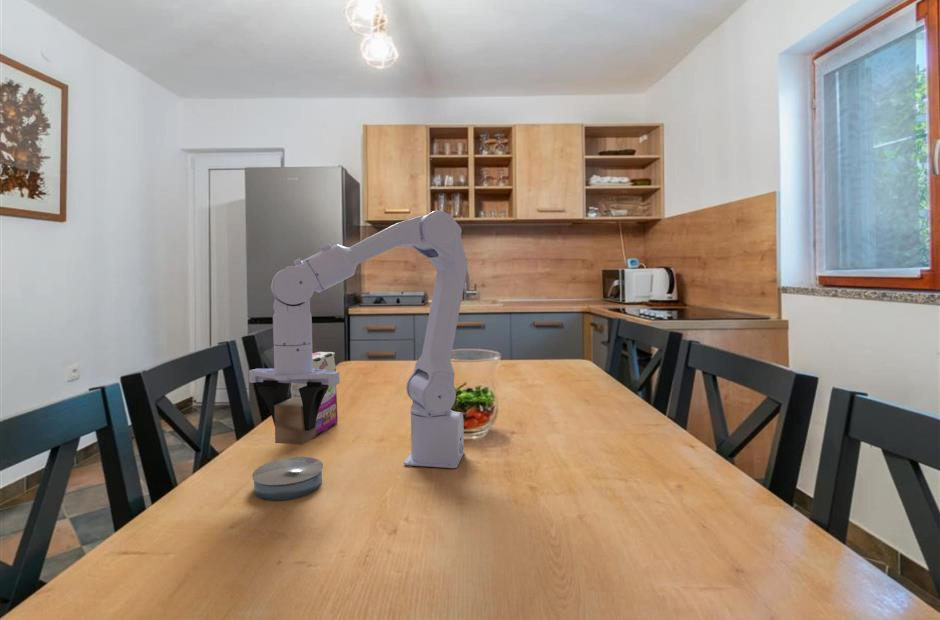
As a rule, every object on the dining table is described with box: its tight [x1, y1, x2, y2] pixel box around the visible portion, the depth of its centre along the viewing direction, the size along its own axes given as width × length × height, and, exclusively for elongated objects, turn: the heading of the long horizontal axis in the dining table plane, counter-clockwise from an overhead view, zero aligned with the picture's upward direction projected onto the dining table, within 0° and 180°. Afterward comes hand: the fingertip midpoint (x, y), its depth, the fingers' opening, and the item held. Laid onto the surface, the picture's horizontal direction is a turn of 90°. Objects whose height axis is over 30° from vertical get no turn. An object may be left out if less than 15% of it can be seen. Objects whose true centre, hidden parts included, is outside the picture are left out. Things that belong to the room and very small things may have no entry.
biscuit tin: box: [251, 456, 324, 502], centre depth 74 cm, size 10×10×3 cm
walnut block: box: [274, 397, 317, 446], centre depth 75 cm, size 4×4×6 cm
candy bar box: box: [289, 351, 339, 439], centre depth 101 cm, size 11×5×16 cm, turn 168°
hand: (295, 428), depth 75 cm, fingers closed on walnut block, 4 cm apart
